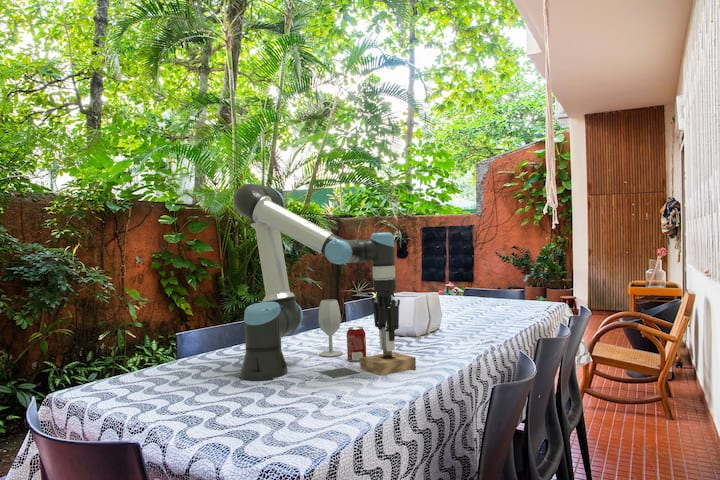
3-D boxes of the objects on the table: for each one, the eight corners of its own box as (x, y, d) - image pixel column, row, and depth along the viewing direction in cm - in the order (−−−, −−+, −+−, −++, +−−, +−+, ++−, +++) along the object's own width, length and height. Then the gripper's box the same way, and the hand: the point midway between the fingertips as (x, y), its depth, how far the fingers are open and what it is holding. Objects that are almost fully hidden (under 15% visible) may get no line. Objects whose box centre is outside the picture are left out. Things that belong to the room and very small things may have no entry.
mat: (333, 379, 157) (333, 378, 157) (318, 373, 165) (318, 372, 165) (360, 374, 162) (360, 372, 162) (345, 368, 171) (345, 367, 171)
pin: (386, 365, 164) (385, 328, 165) (381, 363, 167) (380, 327, 167) (394, 363, 166) (392, 327, 166) (389, 362, 169) (387, 326, 169)
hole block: (380, 376, 158) (380, 364, 158) (360, 369, 168) (360, 357, 168) (415, 369, 165) (415, 357, 165) (394, 363, 175) (394, 351, 175)
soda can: (364, 363, 177) (363, 329, 178) (345, 363, 179) (344, 329, 179) (368, 359, 184) (366, 326, 184) (350, 359, 185) (348, 326, 185)
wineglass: (332, 358, 188) (330, 302, 188) (315, 356, 193) (312, 301, 193) (346, 353, 195) (344, 299, 195) (329, 351, 200) (327, 299, 200)
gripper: (408, 278, 162) (411, 351, 162) (380, 277, 176) (383, 345, 175) (388, 280, 158) (392, 355, 158) (362, 279, 172) (365, 348, 171)
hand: (387, 349), depth 167 cm, fingers closed on pin, 3 cm apart
